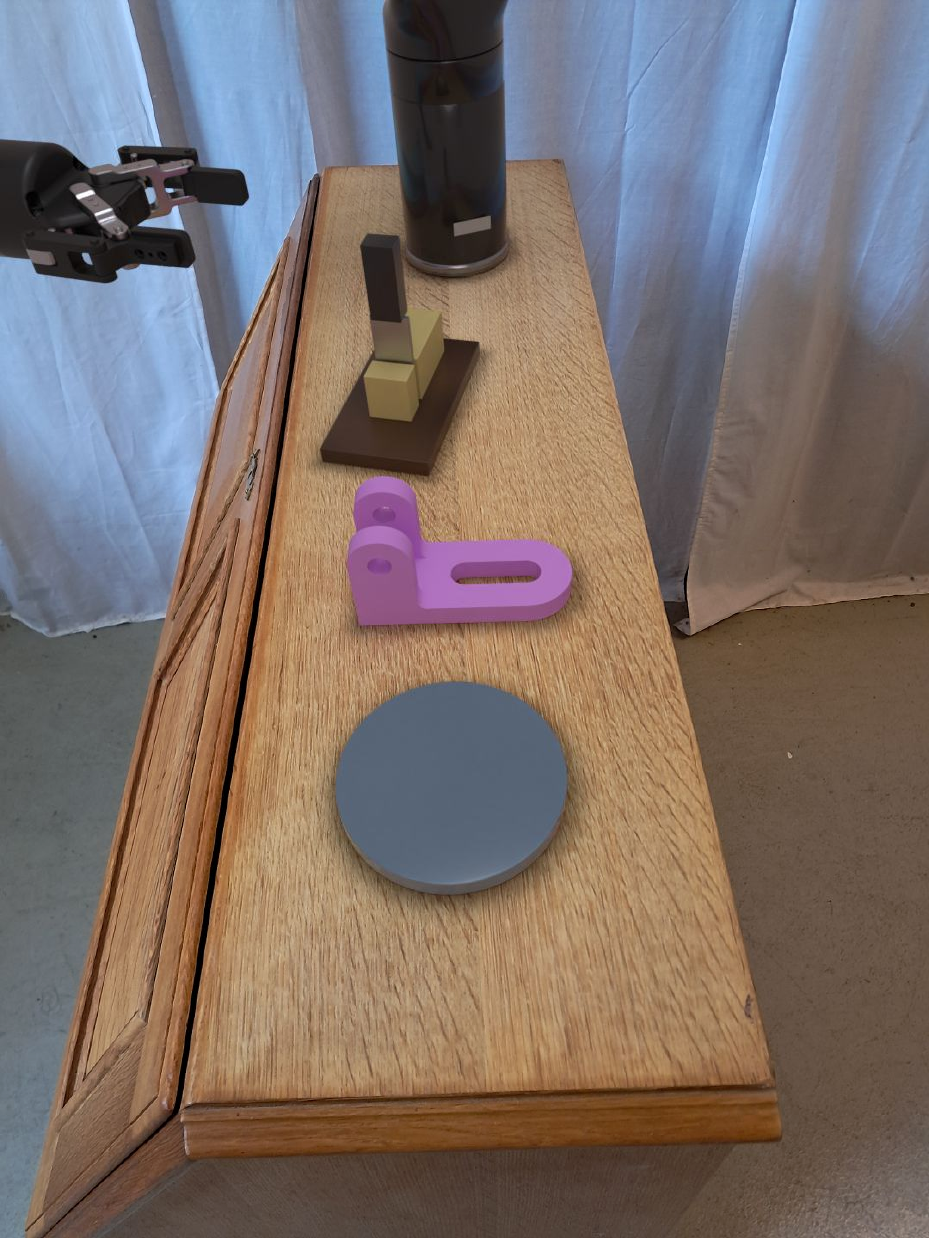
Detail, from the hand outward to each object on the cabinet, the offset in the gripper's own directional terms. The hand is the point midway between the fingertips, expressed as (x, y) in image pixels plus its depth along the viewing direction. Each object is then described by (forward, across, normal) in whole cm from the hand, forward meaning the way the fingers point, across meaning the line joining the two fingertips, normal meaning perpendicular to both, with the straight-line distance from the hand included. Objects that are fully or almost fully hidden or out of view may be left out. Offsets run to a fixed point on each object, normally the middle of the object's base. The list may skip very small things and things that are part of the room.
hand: (219, 217), depth 60 cm
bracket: (+20, -16, +14) cm, 30 cm away
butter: (+11, +4, +13) cm, 17 cm away
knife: (+11, 0, +13) cm, 17 cm away
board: (+11, +1, +14) cm, 18 cm away
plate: (+23, -30, +14) cm, 40 cm away
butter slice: (+11, -1, +13) cm, 17 cm away
